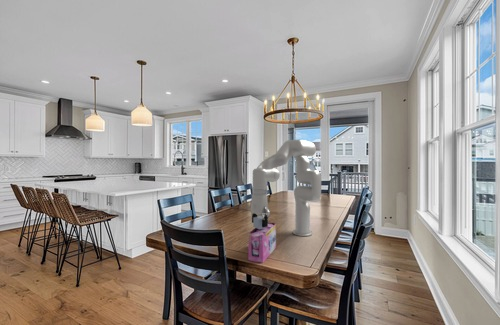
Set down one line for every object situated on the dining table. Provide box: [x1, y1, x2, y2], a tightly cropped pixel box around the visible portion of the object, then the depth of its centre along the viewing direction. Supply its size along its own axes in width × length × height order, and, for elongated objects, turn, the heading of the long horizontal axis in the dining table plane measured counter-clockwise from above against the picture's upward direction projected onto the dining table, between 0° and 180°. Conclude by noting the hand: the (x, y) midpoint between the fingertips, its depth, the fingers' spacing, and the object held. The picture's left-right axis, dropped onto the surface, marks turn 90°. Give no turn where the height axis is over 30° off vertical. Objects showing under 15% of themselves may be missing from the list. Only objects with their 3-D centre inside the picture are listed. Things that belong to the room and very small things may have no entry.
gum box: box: [247, 221, 277, 264], centre depth 125 cm, size 24×8×14 cm, turn 158°
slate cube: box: [252, 215, 267, 229], centre depth 125 cm, size 5×5×5 cm
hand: (259, 224), depth 126 cm, fingers open, 9 cm apart
